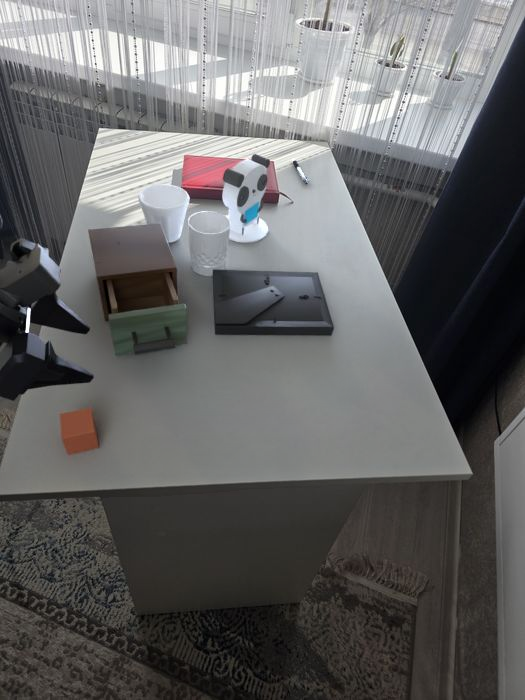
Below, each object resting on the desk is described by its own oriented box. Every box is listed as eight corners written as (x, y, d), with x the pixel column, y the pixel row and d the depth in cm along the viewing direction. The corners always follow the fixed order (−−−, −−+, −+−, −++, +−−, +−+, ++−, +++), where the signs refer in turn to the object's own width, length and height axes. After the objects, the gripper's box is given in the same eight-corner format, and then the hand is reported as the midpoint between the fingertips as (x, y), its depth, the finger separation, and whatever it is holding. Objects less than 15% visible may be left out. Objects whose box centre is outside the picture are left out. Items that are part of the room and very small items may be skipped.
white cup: (203, 283, 90) (204, 238, 82) (180, 262, 93) (179, 217, 86) (235, 270, 94) (239, 226, 86) (212, 250, 97) (214, 207, 90)
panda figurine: (247, 250, 99) (253, 183, 88) (205, 229, 103) (206, 163, 92) (277, 227, 106) (287, 163, 96) (237, 209, 110) (242, 145, 99)
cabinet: (178, 311, 83) (177, 267, 77) (104, 321, 80) (96, 276, 73) (162, 266, 92) (160, 223, 85) (96, 273, 88) (87, 229, 81)
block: (67, 455, 62) (61, 438, 59) (65, 430, 64) (59, 413, 61) (99, 448, 63) (94, 431, 60) (95, 424, 66) (91, 407, 63)
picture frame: (214, 334, 80) (331, 335, 83) (215, 322, 78) (335, 324, 81) (212, 278, 91) (315, 280, 94) (212, 266, 89) (318, 269, 92)
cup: (199, 235, 101) (199, 195, 94) (168, 255, 95) (166, 214, 88) (163, 218, 104) (162, 178, 97) (131, 236, 98) (127, 195, 91)
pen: (310, 185, 122) (311, 181, 121) (304, 185, 122) (305, 181, 121) (296, 161, 131) (297, 157, 131) (290, 161, 131) (291, 157, 130)
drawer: (193, 362, 74) (193, 327, 69) (119, 376, 71) (113, 340, 65) (170, 296, 85) (169, 260, 79) (105, 304, 81) (99, 268, 76)
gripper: (-19, 286, 38) (139, 359, 48) (2, 196, 52) (122, 268, 62) (-82, 374, 42) (77, 426, 52) (-48, 268, 55) (74, 325, 65)
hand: (90, 353), depth 57 cm, fingers open, 9 cm apart
